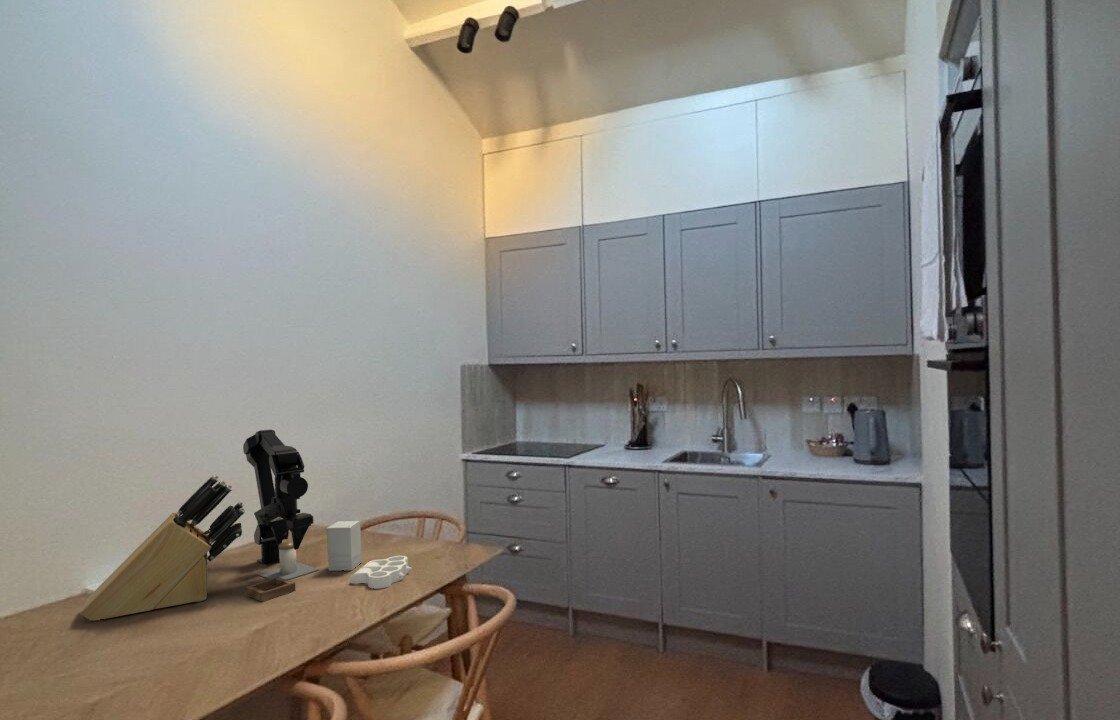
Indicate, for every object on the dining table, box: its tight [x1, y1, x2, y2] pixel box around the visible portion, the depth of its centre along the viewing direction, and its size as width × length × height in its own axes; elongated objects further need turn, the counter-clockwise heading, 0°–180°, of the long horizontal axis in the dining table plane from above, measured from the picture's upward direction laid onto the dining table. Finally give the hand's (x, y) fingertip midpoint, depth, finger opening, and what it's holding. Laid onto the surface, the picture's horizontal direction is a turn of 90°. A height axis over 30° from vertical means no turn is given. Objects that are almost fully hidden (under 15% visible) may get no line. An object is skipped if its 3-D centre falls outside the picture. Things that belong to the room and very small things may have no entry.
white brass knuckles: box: [348, 555, 413, 589], centre depth 170 cm, size 3×18×15 cm
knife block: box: [79, 474, 246, 621], centre depth 157 cm, size 11×35×31 cm, turn 119°
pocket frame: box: [244, 577, 296, 602], centre depth 161 cm, size 9×9×2 cm
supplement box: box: [326, 520, 363, 572], centre depth 180 cm, size 7×7×13 cm
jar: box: [279, 540, 297, 574], centre depth 176 cm, size 5×5×8 cm
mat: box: [256, 561, 320, 581], centre depth 176 cm, size 12×12×1 cm
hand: (287, 546), depth 176 cm, fingers open, 9 cm apart
